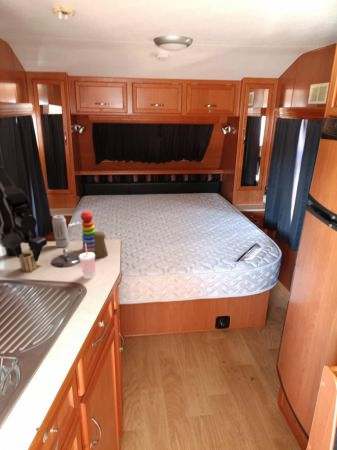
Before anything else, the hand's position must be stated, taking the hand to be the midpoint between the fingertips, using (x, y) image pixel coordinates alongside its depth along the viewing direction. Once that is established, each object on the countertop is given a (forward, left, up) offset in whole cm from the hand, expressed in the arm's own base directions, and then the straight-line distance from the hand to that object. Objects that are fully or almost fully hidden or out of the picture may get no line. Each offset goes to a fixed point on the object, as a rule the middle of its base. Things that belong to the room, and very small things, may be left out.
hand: (27, 259), depth 133 cm
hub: (+10, +11, -5) cm, 16 cm away
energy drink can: (-3, +24, -5) cm, 25 cm away
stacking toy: (+12, +26, -5) cm, 29 cm away
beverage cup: (+26, +5, -5) cm, 27 cm away
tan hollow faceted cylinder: (0, 0, -4) cm, 4 cm away
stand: (0, 0, -5) cm, 5 cm away
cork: (+20, +22, -5) cm, 30 cm away
